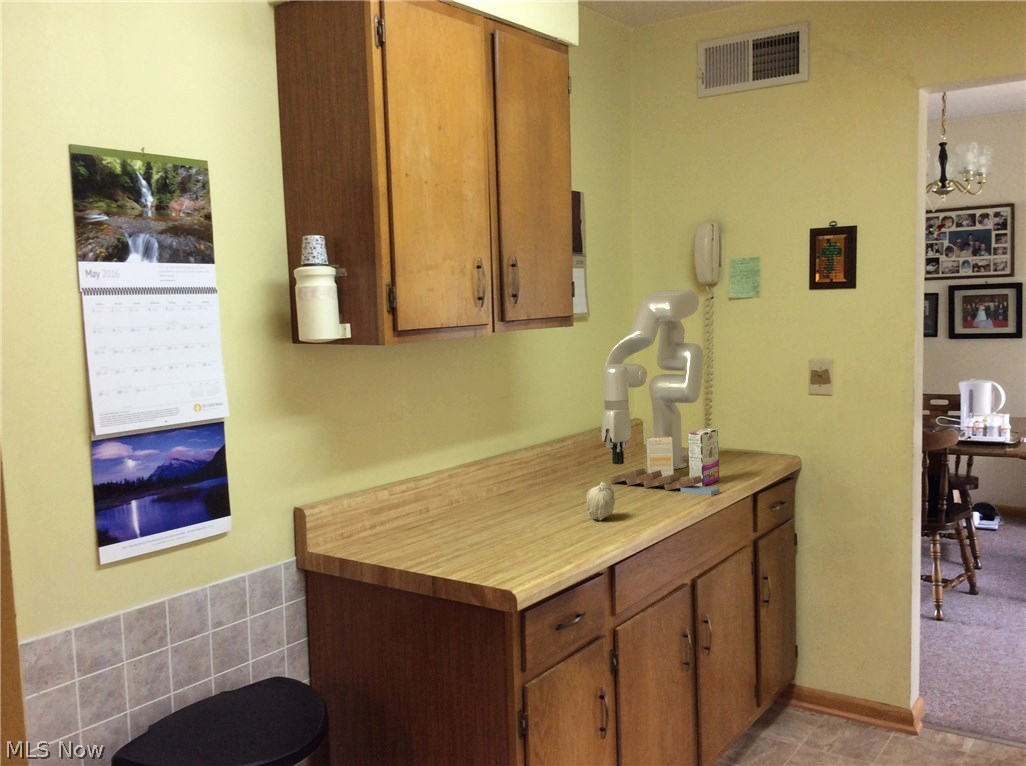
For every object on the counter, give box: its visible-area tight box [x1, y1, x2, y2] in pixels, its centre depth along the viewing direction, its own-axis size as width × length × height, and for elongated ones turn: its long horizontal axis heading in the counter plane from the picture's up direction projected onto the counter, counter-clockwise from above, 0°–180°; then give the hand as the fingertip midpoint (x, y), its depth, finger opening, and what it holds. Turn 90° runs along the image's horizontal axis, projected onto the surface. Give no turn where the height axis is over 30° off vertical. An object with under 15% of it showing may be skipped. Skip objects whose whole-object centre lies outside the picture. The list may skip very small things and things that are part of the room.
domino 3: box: [642, 472, 681, 489], centre depth 269 cm, size 2×5×10 cm
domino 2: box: [625, 470, 662, 487], centre depth 274 cm, size 2×5×10 cm
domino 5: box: [680, 485, 721, 497], centre depth 261 cm, size 2×5×10 cm
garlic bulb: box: [585, 481, 616, 521], centre depth 233 cm, size 10×8×10 cm
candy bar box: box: [687, 427, 720, 487], centre depth 274 cm, size 11×5×16 cm, turn 141°
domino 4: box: [663, 476, 702, 491], centre depth 265 cm, size 2×5×10 cm
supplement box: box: [645, 437, 675, 478], centre depth 285 cm, size 8×5×13 cm, turn 84°
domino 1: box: [609, 467, 647, 484], centre depth 278 cm, size 2×5×10 cm
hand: (618, 463), depth 280 cm, fingers closed
